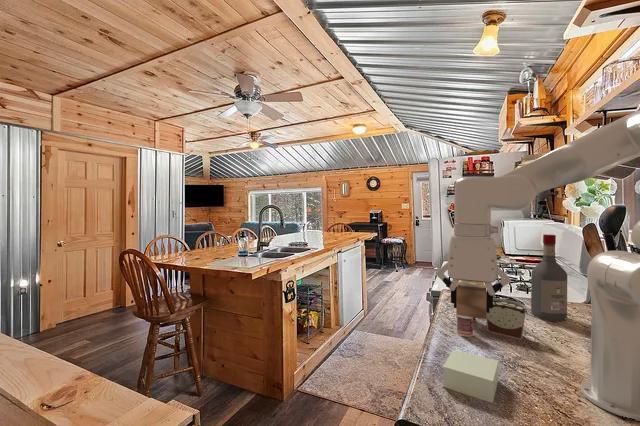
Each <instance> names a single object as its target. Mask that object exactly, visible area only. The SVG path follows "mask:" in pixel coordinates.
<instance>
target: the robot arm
mask: <svg viewBox="0 0 640 426" xmlns="http://www.w3.org/2000/svg"><path fill="white" fill-rule="evenodd" d="M639 157H640V109H639V110H637V111H634V112H631V113H629V114H627V115H625V116H622V117H620V118H618V119H616V120H614V121H612V122H610V123H607V124H606V125H603V126H601V127H599V128H598V129H595V130H593V131H591V132H589V133H587V134H585V135H582V136H581V137H579V138H576V139H574V140H571V141H569V142H568V143H566V144H564V145H562V146H559V147H558V148H555V149H554V150H551V151H549V152H547V153H546V154H544V155H542V156H541V157H539V158H536V159H534V160H532V161H530V162H528V163H526V164H524V165H521V166H519V167H517V168H515V169H513V170H511V171H509V172H507V173H504V174H503V175H500V176H493V177H483V176H482V177H481V176H469V177H461V178H458V179H457V180H456V181H455V182H454V208H453V209H454V211H453V213H454V217H453V218H454V221H453V223H454V226H453V228H454V231H453V233H454V235H451V236H450V240H449V246H448V255H447V262H446V263H445V264H443V265H442V266H441V267H440V268H439V269H438V270H437V271H436V273H435V275H436V276H437V278H439V279H440V281H442V283H443V284H445V286H446V287H447V288H448V289H449V290H450V304H453V308H454V309H456V300H457V284H458V282H459V280H465V281H475V282H484V285H485V286H486V291H487V302H486V312H487V313H489V309H490V308H492V309H493V299H494V295H495V294H496V293H498V292H499V291H500V290H502V289H503V288H504V287H505V286H507V285H508V284H510V283H511V282H512V280H511V278H510V277H509V276H508V274H506V273H505V272H504V271H503V270H502V269H501V268H500V267H499V266H498V257H497V246H496V240H495V237H492V236H491V235H493V234H498V233H499V227H498V226H494V225H492V224H491V223H492V219H491V217H492V208H495V209H499V210H510V211H511V210H521V209H523V208H525V207H528V206H529V205H530V204H532V203H533V201H534V200H535V199H536V197H537V195H538V194H540V193H543V192H546V191H548V190H551V189H555V188H558V187H563V186H567V185H572V184H573V185H574V184H576V183H579V182H583V181H585V180H590V179H591V178H594V177H596V176H598V175H601V174H603V173H605V172H607V171H609V170H611V169H613V168H616V167H618V166H620V165H623V164H625V163H626V162H627V163H628V162H630V161H632V160H634V159H635V160H636V159H637V158H639ZM630 239H631V241H632V243H633V245H634V247H635V248H637V249H639V250H640V220H638V221H637V223H635V225H634V226H633V228H632V230H631V232H630ZM446 272H447V275H448V276H447V275H445V273H446ZM498 277H499V278H501V279H500V280H499V281H497V280H498V279H497V278H498ZM586 277H587V285H588V289H589V295H590V296H589V297H590V305H591V310H590V311H591V321H590V322H591V324H590V379H587V380H584V381H582V382H581V384H580V390H581V394H583V396H584V397H585V398H586V399H587V400H589V402H591V403H593V404H594V405H595V406H598V407H599V408H600V409H603V410H605V411H607V412H610V413H612V414H613V415H616V416H620V417H622V416H623V418H625V417H627V418H626V419H629V418H633V419H635V420H634V421H636V422H637V421H638V422H640V253H635V252H630V251H627V250H625V251H624V250H606V251H603V252H601V253H598V254H597V255H595V256H594V257H593V258H592V259H591V260H590V262H589V263H588V265H587V270H586ZM450 278H451V279H452V280H451V279H450ZM496 281H497V282H496ZM494 282H496V283H494ZM493 283H494V284H493Z"/></svg>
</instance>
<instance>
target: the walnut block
mask: <svg viewBox="0 0 640 426" xmlns="http://www.w3.org/2000/svg"><path fill="white" fill-rule="evenodd" d="M486 302H487V288H486V286H485V284H484V285H475V284H466V283H458V285H457V300H456V308H455V309H456V310H455V311H456V313H455V314H456V315H460V316H467V317H474V318H476V319H481V320H487V319H486ZM456 315H455V316H456Z"/></svg>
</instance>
